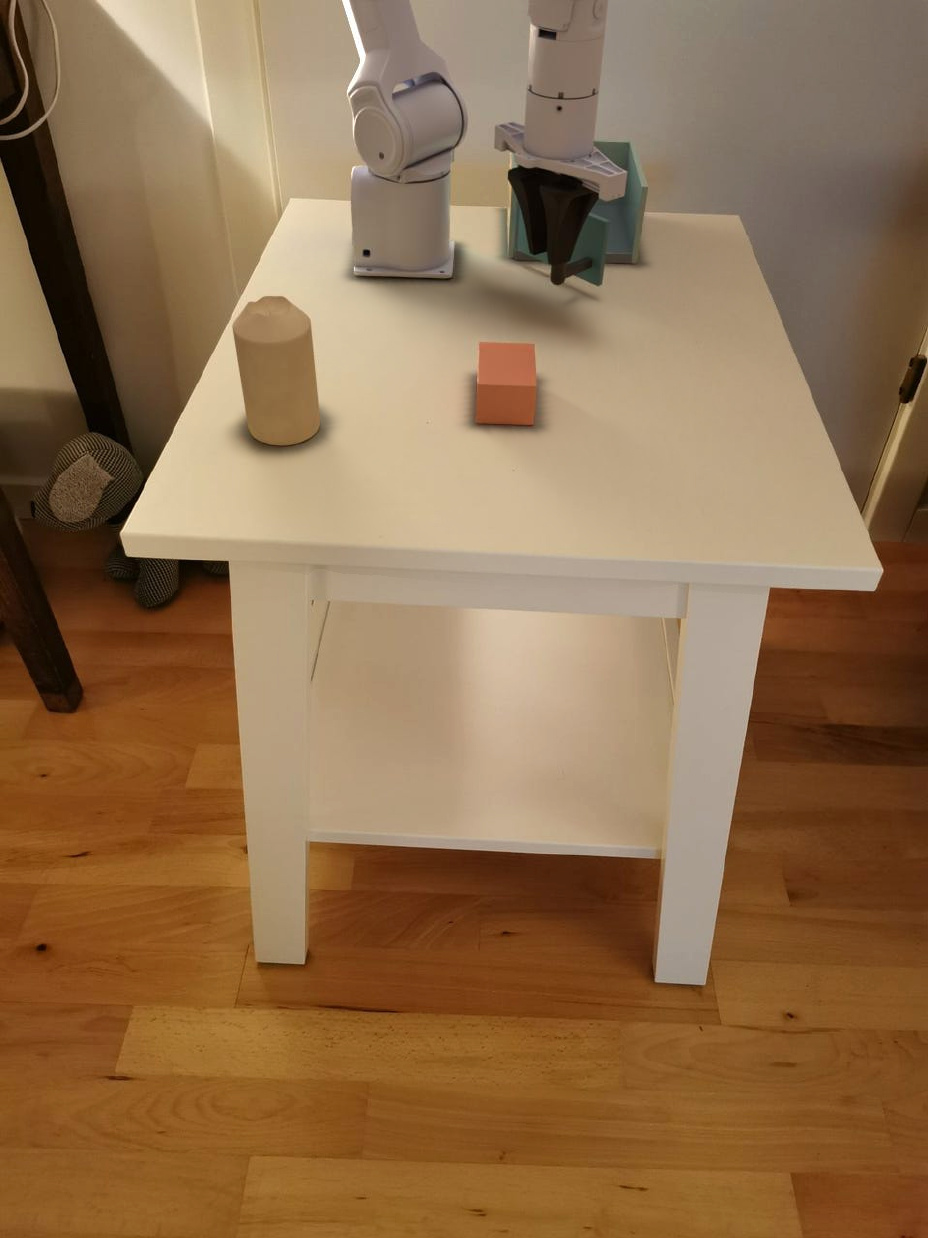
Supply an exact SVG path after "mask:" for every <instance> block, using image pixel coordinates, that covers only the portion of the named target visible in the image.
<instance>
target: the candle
mask: <svg viewBox="0 0 928 1238" xmlns="http://www.w3.org/2000/svg"><path fill="white" fill-rule="evenodd" d="M231 327H232V334H233V340H234V346H235V353H236V359H237V365H238V372H239V378H240V384H241V385H240V386H241V391H242V397H243V404H244V410H245V416H246V421H247V427H248V428H247V429H248V430H249V433H250V435H251V436H252V438H254V439H256V440H257V441H258V442H261V443H262V444H263V443H264V444H267V445H272V446H291V445H297V444H300V443H302V442H305V441H307V440H309V439H311V438H312V437H314V435H316V433H318V431H319V429H320V425H321V416H320V403H319V392H318V383H317V370H316V363H315V361H316V360H315V352H314V340H313V329H312V322H311V318H310V317H309V316H308V315H307V313H305V312H304V311H303V310H302V309H301V308H299V307H298V306H297V305H296V304H294V303H292V302H291V301H290V300H289V299H288V298H286V297H285V296H283V295H265V296H262V297H260V298H259V299H258V300H257V301H248V302H247V303H246V305H245V306H244V307H243V309H242V310H241V312H240V313H238V316H236V318H235V319H234V320H233V322H232V325H231Z"/></svg>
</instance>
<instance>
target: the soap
mask: <svg viewBox="0 0 928 1238" xmlns="http://www.w3.org/2000/svg"><path fill="white" fill-rule="evenodd" d="M536 359H537V358H536V345H535V343H532V342H531V343H527V342H500V341H499V342H498V341H497V342H496V341H491V342H490V341H479V342H478V350H477V377H476V378H477V381H476V411H475V412H476V413H475V414H476V415H475V423H476V424H484V425H485V424H486V425H487V424H489V425H516V426H517V425H518V426H519V425H521V426H522V425H523V426H534V424H535V416H536V415H535V413H536V402H537V401H536V400H537V390H538V379H537V363H536Z"/></svg>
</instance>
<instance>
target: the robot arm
mask: <svg viewBox="0 0 928 1238" xmlns="http://www.w3.org/2000/svg"><path fill="white" fill-rule="evenodd" d="M342 3H343V7H344V10H345V13H346V16H347V19H348V22H349V23H348V24H349V26H350V29H351V32H352V36H353V40H354V42H355V46H356V49H357V52H358V56H359V59H360V61H359V62H360V63H359V66H358V68H357V70H356V72H355V74H354V76H353V78H352V80H351V81H350V83H349V86H348V88H347V91H346V96H347V99H348V102H349V106H350V109H351V115H352V137H353V142H354V145H355V149H356V151H357V153H358V156H359V157H360V159H361V160H362V162H363V163H364V165H354V166H353V167H352V170H351V177H350V215H351V218H350V219H351V243H352V247H353V248H352V249H353V263H354V267H353V274H354V275H355V276H362V277H363V276H367V277H397V278H398V277H399V278H425V279H426V278H427V279H428V278H430V279H431V278H432V279H450V278H453V274H454V273H453V271H454V260H455V259H454V258H455V247H456V242H455V241H454V240H453V239H451V165H452V164H453V163H454V162H455V150H456V149H457V148H458V147H460V146H461V144H462V143H463V141H464V140H465V138H466V135H467V132H468V125H469V118H468V117H469V116H468V110H467V106H466V103H465V100H464V98H463V96H462V94H461V92H460V91H459V90H458V88H457V87H456V85H455V84H454V82H453V80H452V78H451V76H450V74H449V70H448V67H447V63H446V60H445V58H444V57H442V56H441V55H440V54H439V53H438V52H436V51H435V50H434V49H432V48H431V47H430V46H429V45H427V44H426V43H425V42H424V41H422V39H421V36H420V33H419V29H418V26H417V22H416V19H415V15H414V11H413V7H412V5H411V0H342ZM608 6H609V0H527V17H529V18H530V22H529V39H528V40H529V41H528V57H527V58H528V59H527V62H528V63H527V75H526V92H525V111H524V124H521V123H518V122H516V121H513V120H512V121H507V122H503V123H499V124H495V125H494V143H493V148H494V150H497V151H498V152H503V153H504V152H506V151H507V152H509V153H510V152H512V153H514V154H515V158H514V162H515V163H517V164H519V167H516V168H512V169H510V170H509V169H508V171H507V180H508V183H509V182H510V184H511V186H512V188H513V190H514V192H515V195H516V197H517V200H518V203H519V206H520V209H521V212H522V216H523V220H524V225H525V230H526V236H527V241H528V247H529V251H530V254H532V255H538V254H541V253H544V252H547V258H548V263H549V264H550V265H549V264H548V265H549V266H551V265H552V266H556V265H559V264H562V263H565V262H569V261H570V259H571V257H572V254H573V251H574V248H575V245H576V242H577V239H578V237H579V234H580V232H581V229H582V227H583V225H584V223H585V220H586V219H587V217H588V215H589V213H590V211H591V210H592V208H593V206H594V205H595V203H596V202H597V200H598V199H599V198H600V199H602V200H604V201H609V200H613V199H617V198H620V197H623V196H624V195H625V187H626V179H627V171H625V170H623V169H621V168H619V167H618V166H616V165H615V164H614V163H612V162H611V161H610V160H609V159H608V158H607V157H606V156H605V155H604V154H602V153H601V152H600V151H599V150H598V149H597V148H596V147H595V146H594V145H593V144H594V139H595V133H596V125H597V123H596V122H597V113H598V106H599V105H598V104H599V96H600V95H599V93H600V87H601V86H600V84H601V77H602V76H601V75H602V65H603V55H604V45H605V36H606V35H605V33H606V27H607V26H606V25H607V16H608ZM399 85H404V86H405V88H403V89H400V90H397V91H395V92H394V89H395V88H396V87H397V86H399Z"/></svg>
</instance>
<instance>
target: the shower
mask: <svg viewBox="0 0 928 1238" xmlns="http://www.w3.org/2000/svg"><path fill="white" fill-rule="evenodd" d="M593 145H594V146H595V147H596V148H597V149H598V150H599V151H600V152H601V153H602V154H604V155H605V156H606V157H607V158H608V159H609V160H610V161H611V162H612V163H614V164H615V165H616V166H618V167H619V168H621V169H623V170H625V171H627V179H626V187H625V195H624V196H623V197H620V198H617V199H613V200H609V201H604V200H602V199H600V198H599V199H598V200H597V202H596V203H595V205H594V206H593V208H592V210H591V211H590V213H592V214H595V215H597V216H600V217H602V218H605V219H607V220H610V226H609V234H608V242H607V250H606V258H605V264H634V265H636V264H638V258H639V251H640V245H641V238H642V231H643V225H644V219H645V213H646V204H647V198H648V191H649V185H648V182H647V178H646V174H645V171H644V167H643V163H642V161H641V157H640V154H639V150H638V147H637V143H636V141H635V140H633V139H603V138H602V139H599V138H597V139H596V138H594V144H593ZM514 158H515V154H514V153H512V152H510V151H509V165H508V166H509V168H508V171H509V170H510V169H512V168H516V167H519V164H517V163H515V162H514ZM506 206H507V207H506V213H507V214H506V217H507V218H506V219H507V222H506V223H507V224H506V225H507V231H506V232H507V258H513V260H514V261H539V262H540V261H541V260H538V259H536V258H534V257H532V256H530V255H527V254H525V253H523V252H521V251H518V238H519V221H520V206H519V203H518V200H517V197H516V195H515V192H514V190H513V188H512V186H511V184H510V182H509V181H508V187H507V205H506ZM541 262H542V261H541Z"/></svg>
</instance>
